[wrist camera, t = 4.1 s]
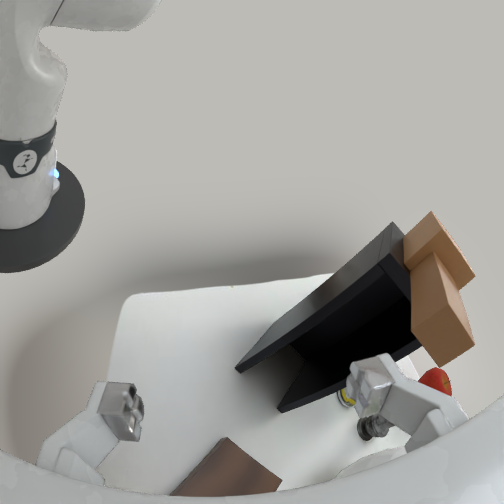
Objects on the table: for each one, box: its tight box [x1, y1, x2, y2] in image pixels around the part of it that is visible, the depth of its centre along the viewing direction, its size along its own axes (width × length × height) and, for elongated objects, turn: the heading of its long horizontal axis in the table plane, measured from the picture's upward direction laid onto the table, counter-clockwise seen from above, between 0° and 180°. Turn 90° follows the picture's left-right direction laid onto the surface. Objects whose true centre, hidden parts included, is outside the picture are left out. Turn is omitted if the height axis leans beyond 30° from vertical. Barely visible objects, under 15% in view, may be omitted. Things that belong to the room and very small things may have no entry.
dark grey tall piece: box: [357, 413, 395, 441], centre depth 38 cm, size 6×6×12 cm
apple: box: [418, 367, 452, 396], centre depth 51 cm, size 11×11×12 cm
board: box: [170, 437, 282, 497], centre depth 22 cm, size 10×13×2 cm
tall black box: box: [235, 222, 422, 413], centre depth 34 cm, size 10×13×26 cm
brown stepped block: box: [403, 211, 475, 368], centre depth 21 cm, size 6×19×5 cm, turn 145°
